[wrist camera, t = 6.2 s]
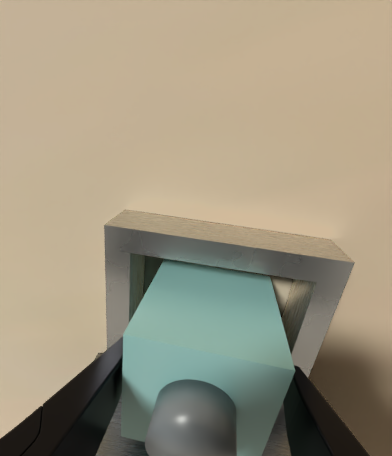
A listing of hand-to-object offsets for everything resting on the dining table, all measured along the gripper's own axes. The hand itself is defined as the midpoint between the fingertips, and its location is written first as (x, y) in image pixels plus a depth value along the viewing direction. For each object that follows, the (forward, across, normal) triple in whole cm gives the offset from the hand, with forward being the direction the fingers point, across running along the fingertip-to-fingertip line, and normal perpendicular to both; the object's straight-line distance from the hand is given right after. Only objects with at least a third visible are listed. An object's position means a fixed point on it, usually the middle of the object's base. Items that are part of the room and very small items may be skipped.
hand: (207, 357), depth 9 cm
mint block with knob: (+3, 0, 0) cm, 3 cm away
